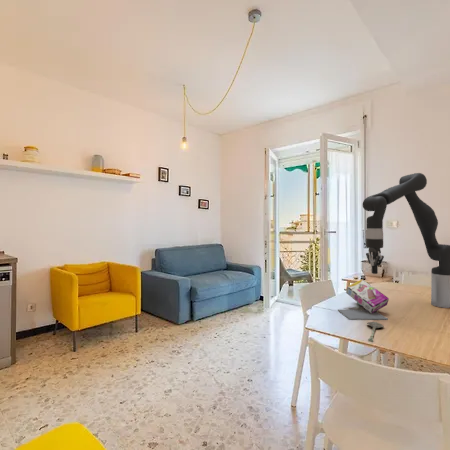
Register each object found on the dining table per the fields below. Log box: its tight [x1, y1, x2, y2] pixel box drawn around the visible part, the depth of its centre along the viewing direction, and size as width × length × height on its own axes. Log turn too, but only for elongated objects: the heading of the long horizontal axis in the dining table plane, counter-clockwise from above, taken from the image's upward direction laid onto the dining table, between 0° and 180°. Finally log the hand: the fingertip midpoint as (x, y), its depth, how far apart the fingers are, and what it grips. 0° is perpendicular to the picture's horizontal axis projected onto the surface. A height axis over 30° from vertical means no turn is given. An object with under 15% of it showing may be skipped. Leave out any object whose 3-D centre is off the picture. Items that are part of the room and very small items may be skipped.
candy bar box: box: [345, 278, 390, 314], centre depth 149 cm, size 11×5×16 cm
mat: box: [337, 309, 389, 321], centre depth 142 cm, size 18×14×1 cm
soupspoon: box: [366, 321, 384, 343], centre depth 120 cm, size 22×3×7 cm
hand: (374, 273), depth 142 cm, fingers closed
